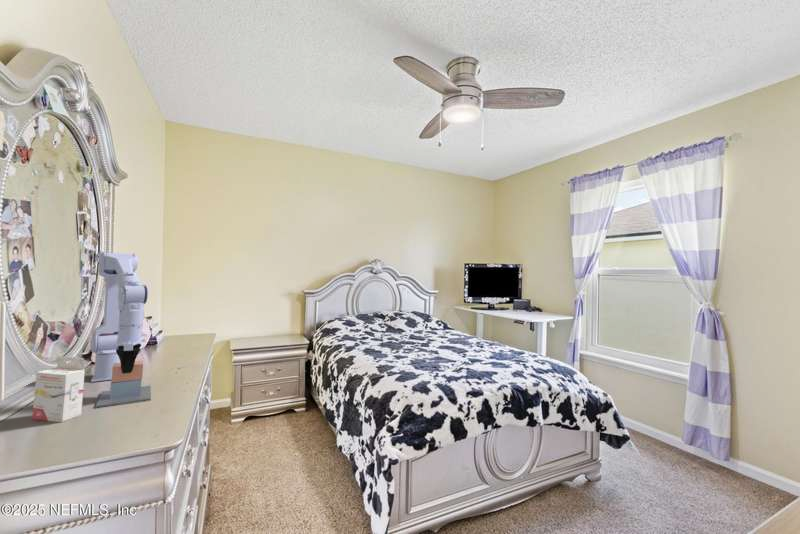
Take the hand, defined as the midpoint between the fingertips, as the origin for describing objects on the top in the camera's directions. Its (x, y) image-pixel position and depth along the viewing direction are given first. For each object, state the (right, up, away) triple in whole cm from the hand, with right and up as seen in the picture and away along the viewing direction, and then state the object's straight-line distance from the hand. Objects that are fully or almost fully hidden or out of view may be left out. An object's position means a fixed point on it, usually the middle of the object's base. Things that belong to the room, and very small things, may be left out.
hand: (127, 370), depth 101 cm
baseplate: (0, -8, 0) cm, 8 cm away
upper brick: (0, -2, 0) cm, 2 cm away
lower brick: (0, -7, 0) cm, 7 cm away
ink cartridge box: (-5, -7, -16) cm, 18 cm away
